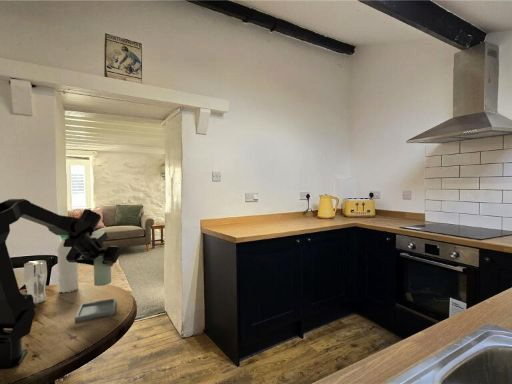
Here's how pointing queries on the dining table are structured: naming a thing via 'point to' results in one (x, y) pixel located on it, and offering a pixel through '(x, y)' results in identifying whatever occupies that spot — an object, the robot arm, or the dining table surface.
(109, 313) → the tray
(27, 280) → the beer glass
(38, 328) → the dining table surface
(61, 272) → the white milk bottle
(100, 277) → the sage green mushroom knob
